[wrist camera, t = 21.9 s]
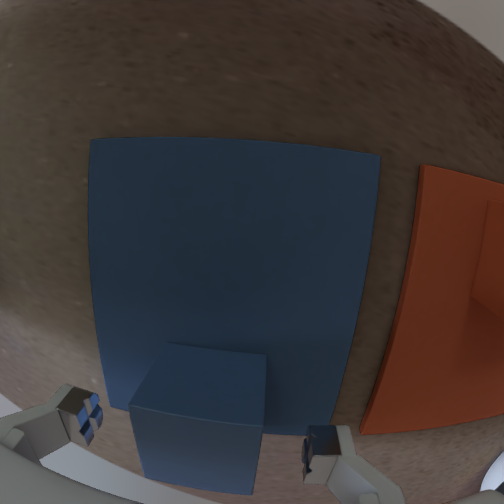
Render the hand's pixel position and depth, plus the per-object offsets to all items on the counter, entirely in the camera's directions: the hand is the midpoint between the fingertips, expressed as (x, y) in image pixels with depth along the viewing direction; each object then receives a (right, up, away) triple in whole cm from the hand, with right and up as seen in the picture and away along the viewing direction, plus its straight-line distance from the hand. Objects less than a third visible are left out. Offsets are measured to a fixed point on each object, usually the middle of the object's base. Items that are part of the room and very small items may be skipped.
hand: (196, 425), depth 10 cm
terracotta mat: (+15, +3, +3) cm, 15 cm away
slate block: (0, 0, +4) cm, 4 cm away
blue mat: (+1, +4, +3) cm, 5 cm away
